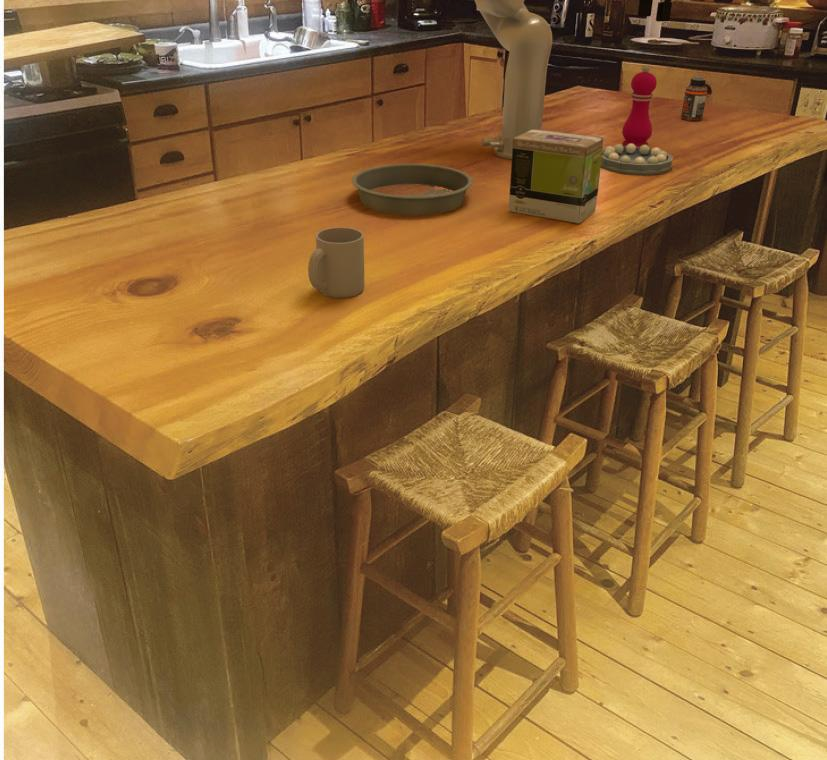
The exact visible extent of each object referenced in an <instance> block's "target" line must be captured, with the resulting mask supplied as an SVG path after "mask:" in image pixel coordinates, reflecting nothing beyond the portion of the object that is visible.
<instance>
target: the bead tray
mask: <svg viewBox="0 0 827 760" xmlns="http://www.w3.org/2000/svg"><path fill="white" fill-rule="evenodd" d="M673 159H674V156H673V155H671V154H670V153H668V152H667V151H665V150H662V149H661V148H660V147H657V146H655V147H653V148H652V147H650V146H649V144H648V145H642V146H641V147H636V146H635V145H634V144H632V143H630V144H628V145H627V146H622V143H616V144H614V145H613V146H612V145H608V146H607V147H603V149H602V159H601V168H600V169H602V170H605V171H608V172H612V173H615V174H620V175H629V176H630V175H631V176H643V177H644V176H645V177H646V176H657V175H663V174H666V173H668V172H670V171H671V170H672V165H673ZM670 169H671V170H670ZM669 170H670V171H669ZM662 173H663V174H662Z"/></svg>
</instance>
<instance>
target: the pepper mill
mask: <svg viewBox="0 0 827 760" xmlns="http://www.w3.org/2000/svg"><path fill="white" fill-rule="evenodd" d="M650 69H651V68H650V65H646V64H645V65H643V66H642V68H641V72H638V73H636V74H635V75H634V76H633V77H632V79H631V83H630V88H631V89H632V91H633V92H632V93H631V97H630V99H631V100H632V105H631V106H632V107H631V111H630V113H629V114H628V117H627V118H626V121H625V122H624V124H623V125H622V131H621V134H622V136H623V138H624V140H623V141H622V143H621V145H622V146H627V145H628V144H630V143H632V144H634V145H635V146H636V147H641V146H642V145H648V146H649V143H648V140H649V139H650V138H651V136H652V134H653V127H652V121H651V119H650V115H649V108H650V103H651V101H653V96H654V94H653V92H654V91H655V89H656V88H657V84H658V83H657V78H656V76H655V75H654V74H653V73H651V72H650Z"/></svg>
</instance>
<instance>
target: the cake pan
mask: <svg viewBox="0 0 827 760" xmlns="http://www.w3.org/2000/svg"><path fill="white" fill-rule="evenodd" d="M351 183H352V185H353V187H355V188H356V189H357V191H358V192H357V193H358V195H359V198H360V202H361V204H363V206H365V207H366V208H368V209H370V210H373V211H376V212H380V213H382V214H384V213H385V214H389V215H390V214H391V215H395V216H396V215H397V216H398V215H399V216H415V217H417V216H430V215H438V214H443V213H447V212H451V211H453V210H455V209H458V208H459V207H461V206H462V205H463V204H464V200H465V196H466V193H467V191H468V190H469V189H470V187H471V186H472V185H473V178H472V177H471V176H470V175H469V174H468V173H466V172H465V171H462V170H459V169H456V168H452V167H448V166H443V165H435V164H426V163H398V164H397V163H395V164H386V165H378V166H373V167H369V168H366V169H364V170H361V171H359V172H357V173H356V174H354V175H353V177H352V179H351ZM416 184H420V186H421V185H422V186H428V185H432V186H431V187H434V186H437V187H443V188H446V189H448V190H452V191H453V192H450V191H446V189H444V190H436V191H435V189H431V188H429V189H428V190H426V191H424V192H425V193H421V192H419V193H420V194H423V195H417V194H416V193H411V194H405V195H403V194H391V193H390V194H389V193H384V192H379V191H378V192H377V191H374V190H375V189H379V188H380V189H381V188H384V187H389V186H390V187H391V186H392V187H393V186H398V185H399V186H402V185H416ZM442 191H443V192H442ZM434 192H435V193H434ZM445 192H449V193H445ZM429 194H434V195H429Z"/></svg>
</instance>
